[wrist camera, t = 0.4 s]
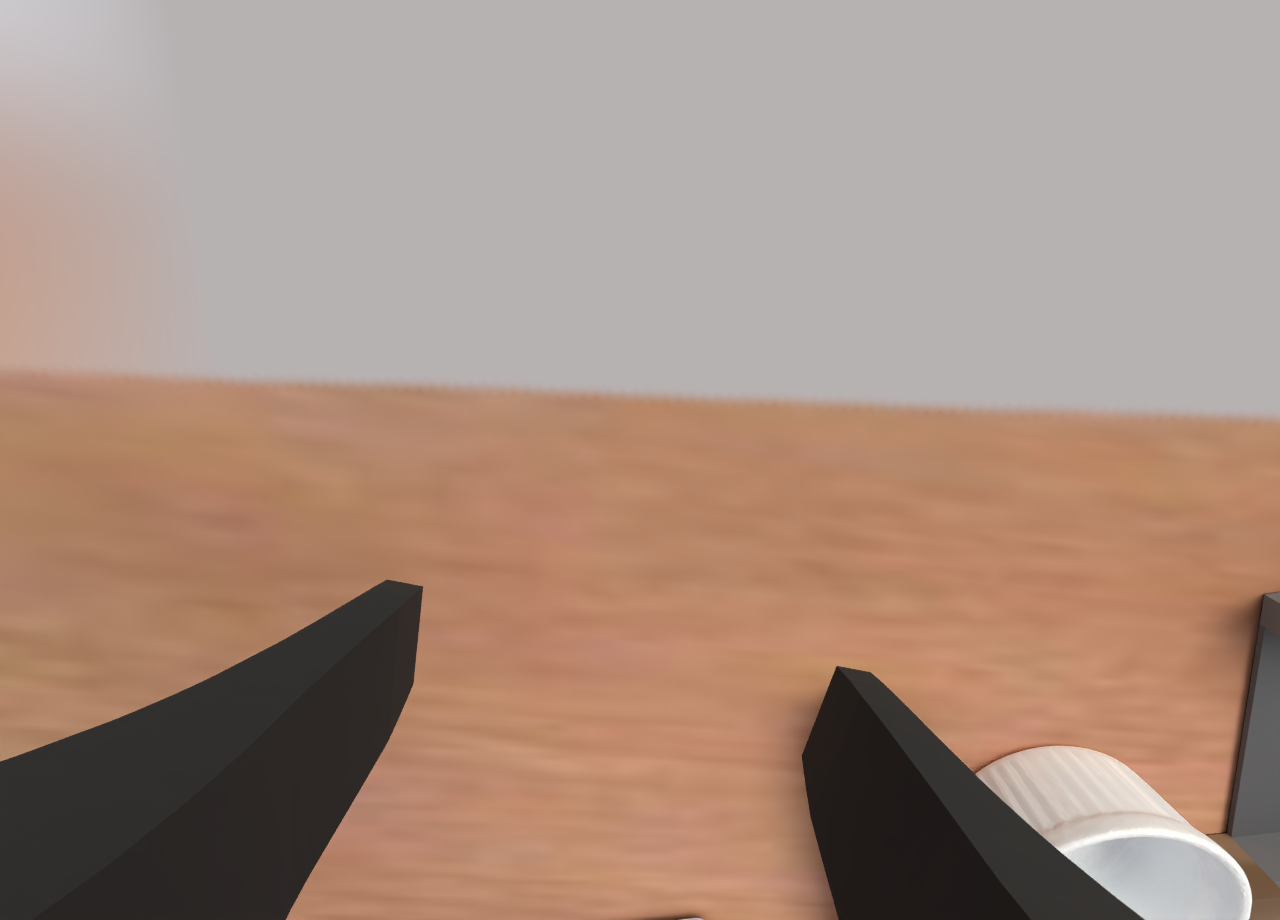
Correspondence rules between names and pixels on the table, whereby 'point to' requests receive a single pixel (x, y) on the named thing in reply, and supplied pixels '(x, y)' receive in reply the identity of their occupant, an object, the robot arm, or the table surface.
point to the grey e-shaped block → (1261, 752)
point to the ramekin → (1121, 833)
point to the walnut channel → (1253, 881)
